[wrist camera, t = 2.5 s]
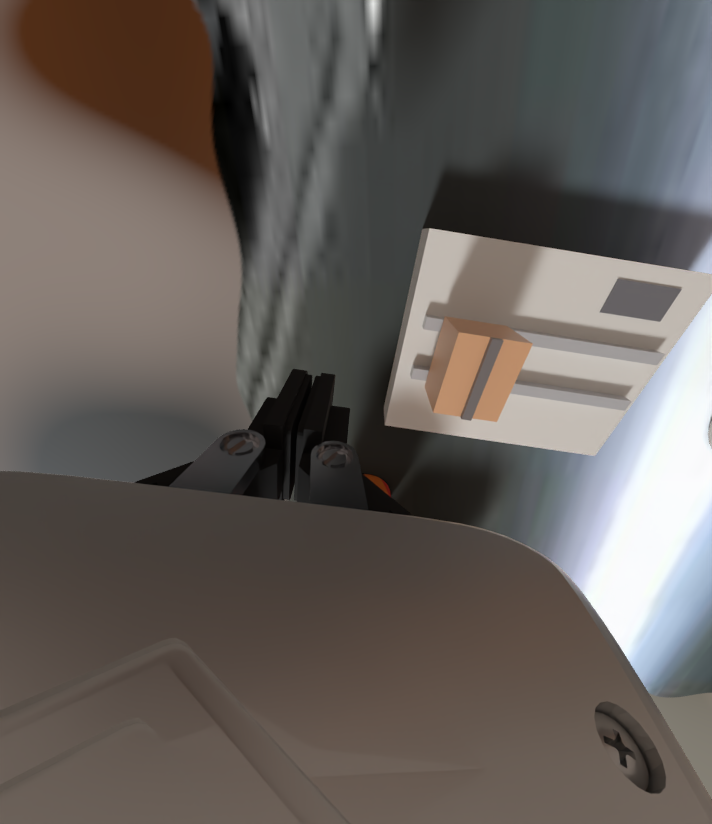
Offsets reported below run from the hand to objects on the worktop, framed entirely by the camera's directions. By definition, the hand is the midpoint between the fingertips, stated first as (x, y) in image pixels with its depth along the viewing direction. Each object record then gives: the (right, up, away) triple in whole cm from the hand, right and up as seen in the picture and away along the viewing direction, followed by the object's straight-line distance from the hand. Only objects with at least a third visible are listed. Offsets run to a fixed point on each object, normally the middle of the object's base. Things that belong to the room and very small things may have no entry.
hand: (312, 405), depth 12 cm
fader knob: (+9, +4, +9) cm, 13 cm away
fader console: (+14, +5, +12) cm, 19 cm away
